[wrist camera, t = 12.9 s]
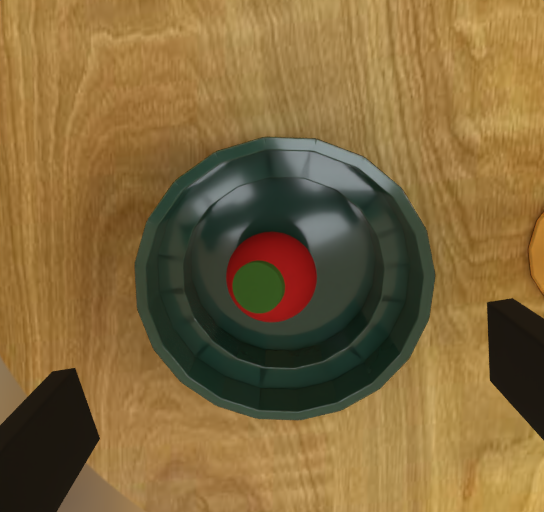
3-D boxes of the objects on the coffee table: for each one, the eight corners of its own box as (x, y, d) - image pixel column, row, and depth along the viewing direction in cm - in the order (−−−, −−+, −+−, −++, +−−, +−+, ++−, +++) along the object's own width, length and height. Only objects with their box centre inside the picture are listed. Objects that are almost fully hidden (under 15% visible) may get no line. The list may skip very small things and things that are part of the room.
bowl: (135, 330, 27) (104, 370, 22) (203, 100, 23) (183, 88, 18) (347, 400, 28) (362, 452, 23) (445, 192, 24) (487, 203, 19)
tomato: (233, 287, 26) (197, 311, 21) (259, 215, 25) (227, 222, 20) (305, 320, 25) (285, 353, 20) (335, 246, 24) (322, 262, 19)
